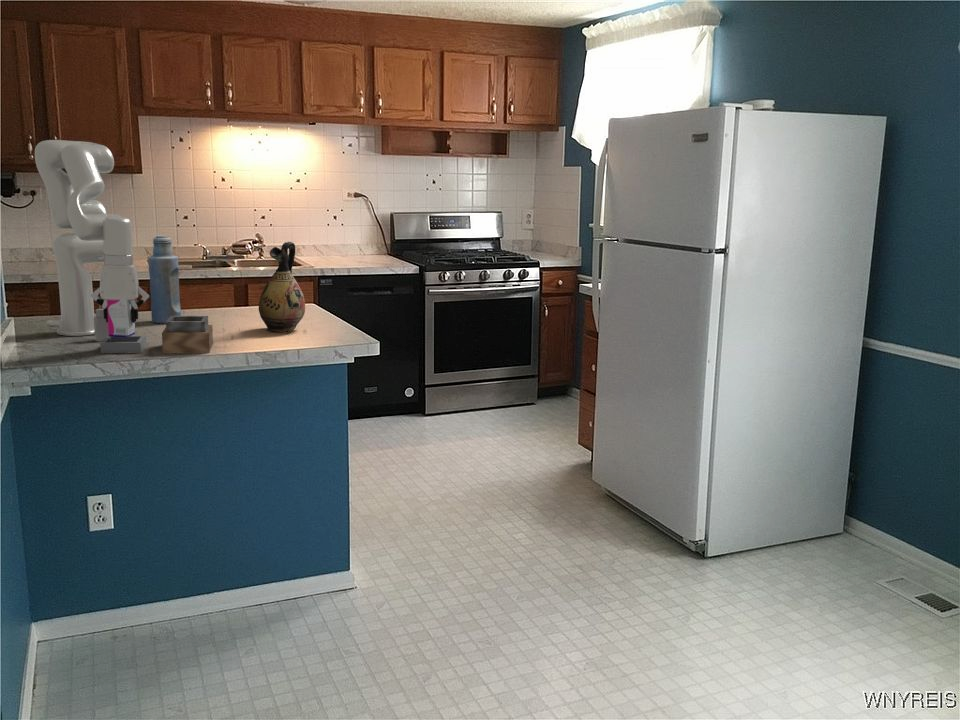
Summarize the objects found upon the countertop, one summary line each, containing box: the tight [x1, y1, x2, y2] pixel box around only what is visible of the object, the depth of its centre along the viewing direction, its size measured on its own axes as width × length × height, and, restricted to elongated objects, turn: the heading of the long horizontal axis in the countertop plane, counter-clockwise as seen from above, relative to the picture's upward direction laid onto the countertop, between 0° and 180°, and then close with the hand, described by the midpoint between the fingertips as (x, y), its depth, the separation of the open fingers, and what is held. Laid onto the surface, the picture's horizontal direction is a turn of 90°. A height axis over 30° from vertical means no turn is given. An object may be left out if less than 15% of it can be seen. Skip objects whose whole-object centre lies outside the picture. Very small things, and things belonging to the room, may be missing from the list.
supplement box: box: [107, 299, 136, 337], centre depth 240 cm, size 6×6×12 cm
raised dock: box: [161, 315, 214, 354], centre depth 245 cm, size 13×13×9 cm
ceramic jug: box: [258, 241, 306, 333], centre depth 277 cm, size 17×15×30 cm
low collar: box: [99, 335, 148, 354], centre depth 241 cm, size 11×11×3 cm
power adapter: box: [94, 304, 109, 342], centre depth 252 cm, size 3×5×12 cm, turn 126°
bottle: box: [147, 235, 182, 325], centre depth 284 cm, size 10×10×30 cm
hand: (121, 321), depth 240 cm, fingers closed on supplement box, 6 cm apart
